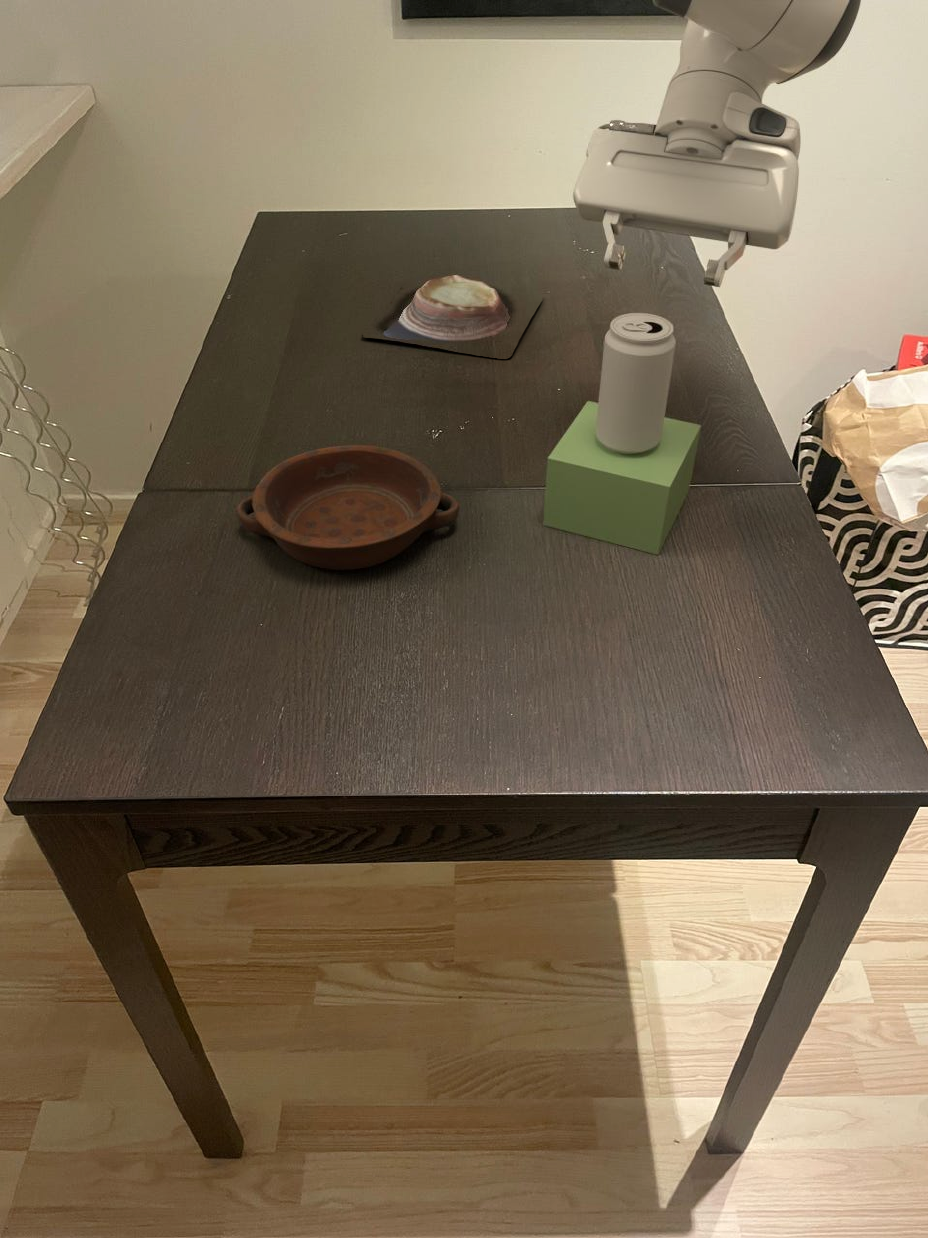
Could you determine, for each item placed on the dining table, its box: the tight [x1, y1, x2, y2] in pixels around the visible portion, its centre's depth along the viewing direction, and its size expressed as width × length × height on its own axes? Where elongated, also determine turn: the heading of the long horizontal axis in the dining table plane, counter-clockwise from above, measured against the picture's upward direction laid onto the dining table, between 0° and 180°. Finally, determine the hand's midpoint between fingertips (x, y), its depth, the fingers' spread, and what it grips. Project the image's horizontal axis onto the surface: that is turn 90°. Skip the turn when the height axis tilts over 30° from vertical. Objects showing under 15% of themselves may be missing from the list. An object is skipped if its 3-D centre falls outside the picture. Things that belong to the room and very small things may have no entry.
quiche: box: [383, 274, 510, 342], centre depth 131 cm, size 21×20×4 cm
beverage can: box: [596, 312, 677, 454], centre depth 90 cm, size 6×6×12 cm
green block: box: [542, 400, 702, 556], centre depth 96 cm, size 12×12×8 cm
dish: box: [236, 444, 460, 571], centre depth 94 cm, size 18×22×5 cm
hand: (660, 274), depth 88 cm, fingers open, 8 cm apart
